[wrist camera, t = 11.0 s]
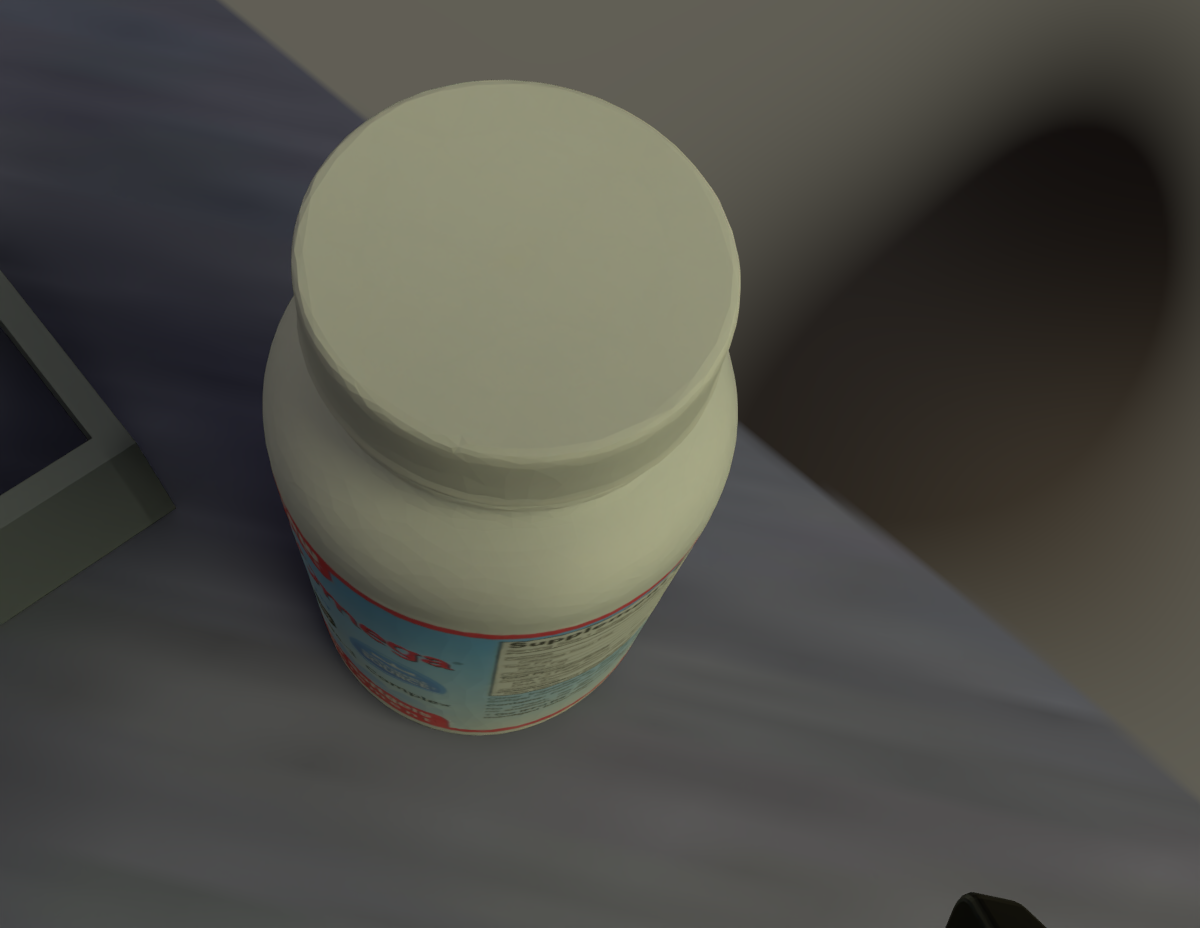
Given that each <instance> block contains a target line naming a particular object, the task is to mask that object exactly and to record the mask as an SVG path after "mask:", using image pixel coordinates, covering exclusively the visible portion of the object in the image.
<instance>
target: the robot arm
mask: <svg viewBox="0 0 1200 928" xmlns="http://www.w3.org/2000/svg"><path fill="white" fill-rule="evenodd" d="M946 928H1046V927H1045V926H1044V925H1043V924H1042V923H1041V922H1040V921H1039V920H1038V919H1037V918H1036V917H1035V916H1033V915H1032V914H1031V913H1030V912H1029V911H1028V910H1027V909H1026V908H1025V907H1024V906H1022V905H1021V904H1019V903H1017V902H1015V901H1012V900H1008V899H1003V898H998V897H993V896H989V895H984V894H979V893H974V892H970V893H968V894H965V895H963V896H962V897H961V898H960V899H959V900H958V901H957V903H956V905H955V906H954V908H953V911H952V913H951V915H950V918H949V920H948V923H947V925H946Z"/></svg>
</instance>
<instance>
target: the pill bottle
mask: <svg viewBox="0 0 1200 928" xmlns="http://www.w3.org/2000/svg"><path fill="white" fill-rule="evenodd" d="M291 275H292V286H293V292H294V296H293V298H292V299H291V301H290V302H289V304H288V306H287V308H286V310H285V312H284V314H283V316H282V318H281V320H280V323H279V325H278V328H277V330H276V333H275V336H274V339H273V341H272V344H271V348H270V352H269V356H268V361H267V365H266V370H265V376H264V385H263V426H264V433H265V441H266V447H267V451H268V455H269V459H270V464H271V469H272V472H273V476H274V479H275V482H276V485H277V489H278V491H279V494H280V497H281V500H282V503H283V506H284V510H285V512H286V514H287V517H288V519H289V523H290V527H291V530H292V532H293V534H294V537H295V540H296V544H297V546H298V548H299V551H300V554H301V556H302V559H303V562H304V564H305V567H306V570H307V572H308V575H309V578H310V581H311V584H312V587H313V590H314V593H315V595H316V598H317V601H318V604H319V607H320V610H321V613H322V616H323V619H324V622H325V624H326V626H327V629H328V631H329V634H330V636H331V638H332V640H333V643H334V645H335V647H336V649H337V651H338V652H339V654H340V656H341V657H342V659H343V661H344V663H345V664H346V666H347V667H348V668H349V670H350V671H351V672H352V673H353V675H354V676H355V677H356V678H357V679H358V681H359V682H360V683H361V684H362V685H363V686H364V687H365V688H366V689H367V690H368V691H369V692H370V693H371V694H372V695H373V696H375V697H376V698H377V699H378V700H380V701H381V702H382V703H383V704H384V705H386V706H388V707H389V708H391V709H392V710H394V711H395V712H397V713H399V714H400V715H402V716H404V717H406V718H408V719H411V720H413V721H415V722H417V723H419V724H422V725H424V726H427V727H430V728H433V729H437V730H441V731H445V732H450V733H457V734H465V735H492V734H502V733H507V732H512V731H517V730H521V729H524V728H527V727H530V726H533V725H536V724H540V723H542V722H544V721H546V720H548V719H550V718H552V717H555V716H557V715H559V714H560V713H562V712H564V711H566V710H567V709H569V708H570V707H572V706H573V705H575V704H576V703H578V702H579V701H581V700H582V699H583V698H584V697H586V696H587V695H588V694H590V693H591V692H592V691H593V690H594V689H596V688H597V687H598V686H599V685H600V684H601V683H602V682H603V681H604V680H605V679H606V678H607V677H608V676H609V675H610V674H611V672H612V671H613V670H614V669H615V668H616V667H617V665H618V664H619V663H620V661H621V660H622V659H623V658H624V656H625V655H626V653H627V652H628V650H629V649H630V647H631V645H632V643H633V642H634V640H635V638H636V637H637V635H638V634H639V632H640V630H641V629H642V627H643V625H644V624H645V622H646V621H647V619H648V617H649V616H650V614H651V613H652V611H653V610H654V608H655V607H656V605H657V603H658V602H659V600H660V598H661V596H662V595H663V593H664V592H665V590H666V588H667V587H668V585H669V584H670V582H671V580H672V579H673V577H674V576H675V574H676V573H677V571H678V569H679V568H680V566H681V565H682V563H683V561H684V560H685V558H686V557H687V555H688V553H689V552H690V550H691V549H692V547H693V545H694V544H695V542H696V541H697V539H698V538H699V536H700V534H701V533H702V531H703V529H704V528H705V526H706V524H707V522H708V521H709V519H710V517H711V515H712V513H713V510H714V508H715V507H716V504H717V502H718V500H719V497H720V495H721V493H722V490H723V488H724V485H725V482H726V479H727V477H728V474H729V470H730V466H731V462H732V458H733V454H734V449H735V443H736V435H737V421H738V405H737V390H736V384H735V377H734V372H733V368H732V363H731V359H730V354H729V351H728V350H729V348H730V344H731V341H732V338H733V334H734V331H735V328H736V324H737V319H738V312H739V302H740V265H739V257H738V253H737V249H736V245H735V240H734V237H733V232H732V229H731V227H730V225H729V222H728V220H727V218H726V215H725V213H724V211H723V208H722V206H721V203H720V201H719V199H718V197H717V196H716V194H715V192H714V191H713V189H712V188H711V187H710V185H709V184H708V183H707V181H706V180H705V179H704V177H703V176H702V175H701V173H700V172H699V171H698V170H697V168H696V167H695V166H694V164H693V163H692V162H691V161H690V160H689V159H688V158H687V157H686V156H685V155H684V154H683V153H682V152H681V151H680V150H679V149H678V148H677V147H676V146H675V145H674V144H673V143H672V142H670V141H669V140H668V139H667V138H666V137H664V136H663V135H661V133H659V132H658V131H657V130H656V129H654V128H653V127H651V126H650V125H649V124H647V123H646V122H644V121H643V120H641V119H639V118H638V117H636V116H634V115H632V114H631V113H629V112H627V111H625V110H623V109H621V108H619V107H617V106H615V105H613V104H611V103H609V102H606V101H604V100H602V99H600V98H597V97H594V96H591V95H588V94H585V93H582V92H579V91H576V90H572V89H568V88H564V87H560V86H556V85H551V84H545V83H540V82H526V81H517V80H485V81H474V82H465V83H458V84H453V85H449V86H444V87H440V88H436V89H432V90H428V91H424V92H422V93H419V94H417V95H415V96H412V97H409V98H407V99H405V100H402V101H400V102H397V103H395V104H393V105H392V106H390V107H388V108H386V109H384V110H382V111H381V112H379V113H378V114H376V115H375V116H373V117H372V118H370V119H368V120H367V121H365V122H364V123H363V124H362V125H360V126H359V127H358V128H356V129H355V130H354V131H353V132H351V133H350V134H349V135H348V136H347V137H346V138H345V139H344V140H343V141H342V142H341V143H340V144H339V145H338V146H337V147H336V148H335V149H334V150H333V151H332V152H331V153H330V155H329V156H328V157H327V159H326V160H325V162H324V163H323V164H322V166H321V167H320V169H319V170H318V171H317V173H316V175H315V176H314V178H313V180H312V181H311V183H310V185H309V187H308V190H307V192H306V194H305V196H304V198H303V201H302V204H301V207H300V211H299V214H298V217H297V220H296V223H295V228H294V233H293V241H292V249H291Z"/></svg>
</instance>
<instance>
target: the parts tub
mask: <svg viewBox="0 0 1200 928" xmlns="http://www.w3.org/2000/svg"><path fill="white" fill-rule="evenodd" d="M0 327H1V328H2V329H3V330H4V332H5V333H6V334H7V336H8V337H9V338H10V339H11V341H12V342H13V343H14V345H15V346H16V347H17V349H18V350H19V351H20V352H21V354H22V355H23V356H24V358H25V359H26V360H27V361H28V363H29V364H30V365H31V367H32V368H33V369H34V371H35V372H36V373H37V374H38V376H39V377H40V378H41V380H42V381H43V382H44V383H45V385H46V386H47V387H48V389H49V390H50V391H51V392H52V394H53V395H54V396H55V398H56V399H57V400H58V402H59V403H60V404H61V405H62V407H63V408H64V409H65V411H66V412H67V413H68V414H69V416H70V417H71V418H72V420H73V421H74V422H75V424H76V425H77V426H78V427H79V429H80V430H81V431H82V433H83V434H84V435H85V436H86V438H87V439H88V440H89V441H87V442H85V443H84V444H82V445H81V446H79V447H77V448H76V449H74V450H73V451H71V452H69V453H68V454H66V455H65V456H63V457H61V458H60V459H58V460H57V461H55V462H53V463H52V464H50V465H49V466H47V467H45V468H44V469H42V470H41V471H39V472H37V473H36V474H34V475H33V476H31V477H29V478H28V479H26V480H25V481H23V482H21V483H20V484H18V485H17V486H15V487H13V488H12V489H10V490H9V491H7V492H5V493H4V494H2V495H1V496H0V625H1V624H3V623H4V622H6V621H7V620H9V619H10V618H12V617H13V616H15V615H16V614H18V613H19V612H21V611H22V610H24V609H25V608H27V607H28V606H30V605H31V604H33V603H34V602H36V601H37V600H39V599H40V598H42V597H43V596H45V595H46V594H48V593H49V592H51V591H52V590H54V589H55V588H57V587H58V586H60V585H61V584H63V583H64V582H66V581H67V580H69V579H70V578H72V577H73V576H75V575H76V574H78V573H79V572H81V571H82V570H84V569H85V568H87V567H88V566H90V565H91V564H93V563H94V562H96V561H97V560H99V559H100V558H102V557H103V556H105V555H106V554H108V553H109V552H111V551H112V550H114V549H115V548H117V547H118V546H120V545H121V544H123V543H124V542H126V541H127V540H129V539H130V538H132V537H133V536H135V535H136V534H138V533H139V532H141V531H142V530H144V529H145V528H147V527H148V526H150V525H151V524H153V523H154V522H156V521H157V520H159V519H160V518H162V517H163V516H165V515H166V514H168V513H169V512H171V511H172V510H174V509H175V508H176V507H175V506H174V504H173V502H172V501H171V499H170V497H169V496H168V494H167V492H166V491H165V489H164V488H163V486H162V484H161V483H160V481H159V479H158V478H157V476H156V474H155V473H154V471H153V470H152V468H151V466H150V465H149V463H148V461H147V460H146V458H145V456H144V455H143V453H142V452H141V450H140V448H139V447H138V445H137V443H136V442H135V441H134V439H133V438H132V437H131V436H130V434H129V433H128V432H127V431H126V429H125V428H124V427H123V425H122V424H121V423H120V422H119V420H118V419H117V418H116V417H115V415H114V414H113V413H112V411H111V410H110V409H109V408H108V406H107V405H106V404H105V403H104V401H103V400H102V399H101V397H100V396H99V395H98V394H97V392H96V391H95V390H94V389H93V387H92V386H91V385H90V383H89V382H88V381H87V380H86V378H85V377H84V376H83V375H82V373H81V372H80V371H79V369H78V368H77V367H76V366H75V364H74V363H73V362H72V361H71V359H70V358H69V357H68V355H67V354H66V353H65V352H64V350H63V349H62V348H61V347H60V345H59V344H58V343H57V341H56V340H55V339H54V338H53V336H52V335H51V334H50V333H49V331H48V330H47V329H46V327H45V326H44V325H43V324H42V322H41V321H40V320H39V319H38V317H37V316H36V315H35V313H34V312H33V311H32V310H31V308H30V307H29V306H28V305H27V303H26V302H25V301H24V299H23V298H22V297H21V296H20V294H19V293H18V292H17V291H16V289H15V288H14V287H13V285H12V284H11V283H10V282H9V280H8V279H7V278H6V277H5V275H4V274H3V273H2V271H1V270H0Z"/></svg>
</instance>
